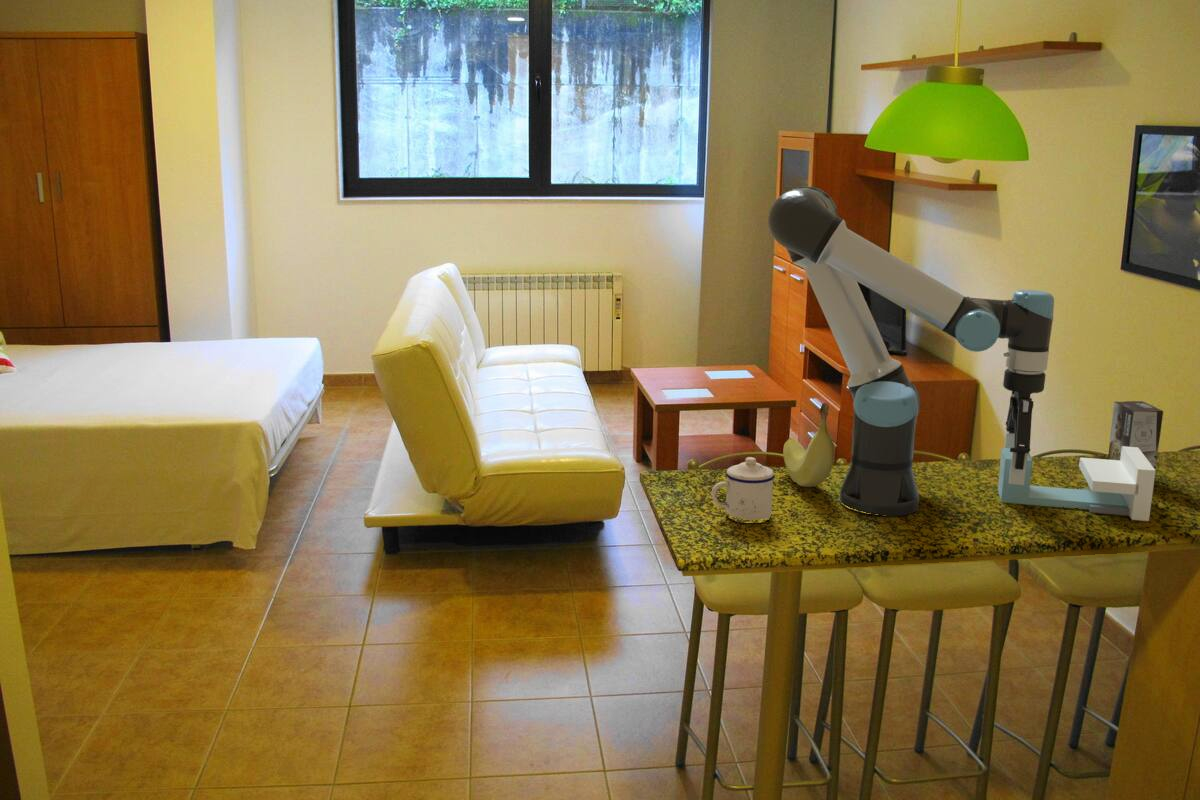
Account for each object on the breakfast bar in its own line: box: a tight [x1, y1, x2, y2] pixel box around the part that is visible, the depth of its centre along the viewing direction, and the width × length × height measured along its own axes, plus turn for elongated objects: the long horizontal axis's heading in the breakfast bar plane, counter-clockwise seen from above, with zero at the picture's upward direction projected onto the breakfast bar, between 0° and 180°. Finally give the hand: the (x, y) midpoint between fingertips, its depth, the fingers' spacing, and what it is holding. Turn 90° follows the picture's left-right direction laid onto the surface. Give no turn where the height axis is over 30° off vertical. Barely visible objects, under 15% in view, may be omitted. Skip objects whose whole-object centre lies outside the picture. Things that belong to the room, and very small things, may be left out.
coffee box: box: [1107, 400, 1164, 471], centre depth 229 cm, size 9×6×16 cm
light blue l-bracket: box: [997, 447, 1128, 511], centre depth 216 cm, size 23×8×9 cm, turn 75°
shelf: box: [1078, 446, 1157, 522], centre depth 213 cm, size 10×16×10 cm, turn 165°
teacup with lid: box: [711, 456, 775, 520], centre depth 205 cm, size 12×9×12 cm
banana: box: [782, 402, 835, 488], centre depth 223 cm, size 23×6×20 cm, turn 8°
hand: (1012, 473), depth 218 cm, fingers open, 13 cm apart
